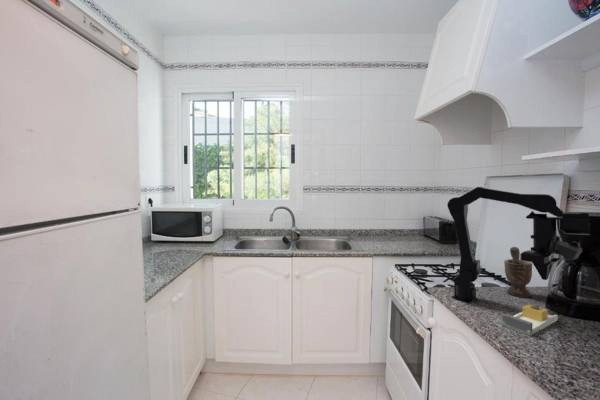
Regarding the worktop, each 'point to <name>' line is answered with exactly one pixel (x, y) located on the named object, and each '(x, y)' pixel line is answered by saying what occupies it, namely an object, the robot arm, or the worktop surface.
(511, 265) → the mortar and pestle
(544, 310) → the carriage
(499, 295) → the worktop surface
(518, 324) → the rail
